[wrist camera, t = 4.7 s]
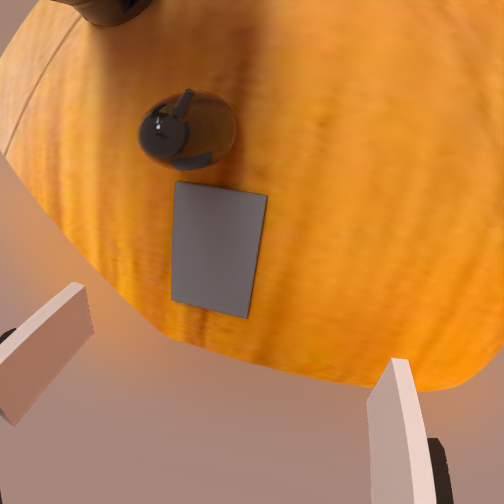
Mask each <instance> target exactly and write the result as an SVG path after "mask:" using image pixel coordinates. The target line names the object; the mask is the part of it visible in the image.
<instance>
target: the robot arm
mask: <svg viewBox="0 0 504 504" xmlns="http://www.w3.org/2000/svg"><path fill="white" fill-rule="evenodd" d="M52 1H56V2H60V3H64V4H68V5H71V6H73V7H74V8H75V9H76V10H77V11H78V12H79V13H80V14H81V15H82V16H83V17H84V18H85V19H86V20H87V21H89V22H91V23H94V24H97V25H100V26H115V25H119V24H122V23H124V22H126V21H128V20H130V19H132V18H134V17H135V16H137V15H138V14H139V13H140V12H142V11H143V10H144V9H145V8H146V7H147V6H148V5H149V4H150V3H151V2H152V0H52ZM93 334H94V330H93V326H92V321H91V316H90V311H89V305H88V300H87V294H86V288H85V286H84V285H81V284H78V283H76V282H72V283H70V284H69V285H68V286H67V287H66V288H64V289H63V290H62V291H61V292H59V293H58V294H57V295H56V296H55V297H53V298H52V299H51V300H50V301H49V302H48V303H46V304H45V305H44V306H43V307H42V308H41V309H39V310H38V311H37V312H36V313H35V314H33V315H32V316H31V317H30V318H29V319H28V320H27V321H25V322H24V323H23V324H22V325H21V326H20V327H19V328H18V329H16V328H14V329H11V330H9V331H7V332H5V333H4V334H3V335H2V336H1V337H0V415H1V416H2V418H4V419H5V420H6V421H7V422H8V423H10V424H11V425H12V426H13V427H15V426H16V425H17V424H18V422H19V421H20V420H21V418H22V417H23V416H24V415H25V413H26V412H27V411H28V410H29V408H30V407H31V406H32V405H33V403H34V402H35V401H36V400H37V398H38V397H39V396H40V395H41V394H42V392H43V391H44V390H45V389H46V388H47V386H48V385H49V384H50V383H51V382H52V380H53V379H54V378H55V377H56V376H57V374H58V373H59V372H60V371H61V370H62V368H63V367H64V366H65V365H66V364H67V363H68V362H69V361H70V359H71V358H72V357H73V356H74V355H75V354H76V353H77V351H78V350H79V349H80V348H81V347H82V346H83V344H85V342H86V341H87V340H88V339H89V338H90V337H91V336H92V335H93ZM366 403H367V415H368V426H369V427H368V428H369V443H370V464H371V504H454V503H453V495H452V488H451V482H450V476H449V473H448V466H447V464H446V462H447V460H446V455H445V450H444V448H443V446H442V445H441V443H440V441H439V440H438V438H426V433H425V428H424V423H423V418H422V414H421V409H420V405H419V401H418V397H417V393H416V389H415V385H414V381H413V377H412V373H411V370H410V366H409V362H408V360H406V359H397V358H391V359H390V361H389V363H388V365H387V367H386V368H385V370H384V372H383V374H382V375H381V377H380V379H379V381H378V382H377V384H376V386H375V387H374V389H373V391H372V392H371V394H370V396H369V397H368V399H367V400H366ZM0 504H2V499H1V493H0Z"/></svg>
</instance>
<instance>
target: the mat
mask: <svg viewBox="0 0 504 504" xmlns="http://www.w3.org/2000/svg"><path fill="white" fill-rule="evenodd" d="M266 200H267V196H266V195H261V194H256V193H250V192H244V191H239V190H233V189H227V188H221V187H215V186H209V185H202V184H196V183H189V182H183V181H177V182H175V195H174V213H173V236H172V287H171V300H173V301H177V302H181V303H184V304H188V305H192V306H196V307H200V308H204V309H208V310H212V311H216V312H220V313H224V314H228V315H233V316H237V317H241V318H246V319H247V316H248V311H249V305H250V299H251V293H252V287H253V281H254V275H255V268H256V262H257V256H258V250H259V244H260V238H261V232H262V225H263V219H264V213H265V207H266Z"/></svg>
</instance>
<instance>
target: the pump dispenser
mask: <svg viewBox="0 0 504 504" xmlns="http://www.w3.org/2000/svg"><path fill="white" fill-rule="evenodd" d="M137 137H138V143H139V145H140V148H141V149H142V151H143V152H144V154H145V155H146V156H147V157H148V158H149V159H150V160H152V161H153V162H155V163H157V164H158V165H160V166H163V167H165V168H168V169H172V170H178V171H197V170H203V169H206V168H209V167H212V166H214V165H216V164H217V163H219V162H220V161H222V160H223V159H224V158H225V157H226V156H227V155H228V153H229V152H230V150H231V149H232V147H233V144H234V141H235V138H236V120H235V116H234V114H233V112H232V110H231V108H230V106H229V105H228V104H227V103H226V102H225V101H224V100H223V99H222V98H221V97H219V96H218V95H216V94H214V93H211V92H208V91H203V90H192V89H186V90H185V91H182V92H178V93H175V94H172V95H170V96H168V97H166V98H164V99H162V100H160V101H159V102H157V103H156V104H154V105H153V106H152V107H151V108H150V109H149V110H148V111H147V112H146V113H145V114H144V116H143V117H142V119H141V121H140V124H139V127H138V132H137Z"/></svg>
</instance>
